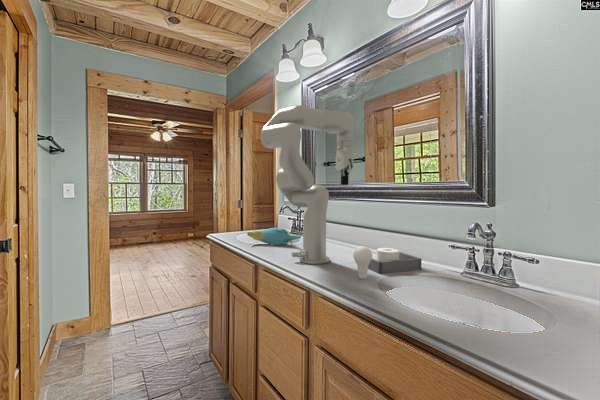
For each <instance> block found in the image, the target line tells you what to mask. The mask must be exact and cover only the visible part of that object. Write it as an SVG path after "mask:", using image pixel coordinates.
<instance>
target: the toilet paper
mask: <svg viewBox="0 0 600 400" xmlns="http://www.w3.org/2000/svg"><path fill="white" fill-rule="evenodd" d="M399 252H400V250H399V249H396V248H391V247H379V248H377V249H376V260H378V261H380V262H381V261H392V260H399Z"/></svg>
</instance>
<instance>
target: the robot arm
mask: <svg viewBox="0 0 600 400" xmlns="http://www.w3.org/2000/svg"><path fill="white" fill-rule="evenodd" d="M355 122H356V121H355V118H354V116H353V115H352V114H351V113H349V112H346V111H342V110H330V109H329V110H328V109H318V108H314V107H310V106H305V105H302V104H301V105H300V104H298V105H297V104H296V105H291V106H289V107H284V108H281V109H279V110H278V111H277V112H276V113H275V114H274V115H273V116H272V117H271V118H270V120H269V121H268V122H267V123H266V124H265V125H264V126H263V128H262V129H261V131H260V135H259V138H260V139H259V140H260V143H261V145H262V146H263V147H265V148H267V149H269V150H270V149H280V152H279V153H280V154H279V159H278V160H279V161H278V162H279V163H278V164H279V166H280V169H279V170H278V172H277V173H276V176H275V180H276V181H275V182H276V185H277V187H278V189H279V191H280V192H281V193H282V195H283V196H284V197H285V198H286V199H287V200H288V202H289V203H290V204H291V205H292V206H293V207H297V208H307V209H306V210H305V213H304V215H303V218H302V219H303V220H302V223H303V225H302V226H303V230H302V231H303V233H302V236H303V239H302V240H303V241H302V244H303V247H302V248H301V249H300V251H293V252H292V253H291V256H292V258H297V259H298V258H299V262H301V263H303V264H309V265H323V264H327V263H329V262H330V257H329V256H327V209H328V204H329V198H330V197H329V196H330V194H329V193H330V192H329V190H328V189H327V188H326V186H323V185H320V184H315V176H314V175H313V173H312V171H311V170H310V168H309V167H308V165H307V164H306V162H305V161H304V160H303V158H302V156H301V152H300V150H301V148H300V147H301V141H302V140H301V139H302V131H301V129H303V130H307V131H308V130H309V131H314V132H315V131H316V132H318V131H319V132H320V131H321V132H323V131H325V132H326V133H327V134H329V135H330V134H331V135H334V134H335V135H336V154H335V170H337V171H338V173H339V174H340V185H341V186H348V185H349V177H350V173H351V172H352V170H353V168H354V127H355V124H356V123H355Z"/></svg>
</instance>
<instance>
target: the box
mask: <svg viewBox="0 0 600 400" xmlns="http://www.w3.org/2000/svg"><path fill="white" fill-rule="evenodd" d="M368 269H369V270H370V271H372V272H375V273H377V274H379V275H380V274H381V275H382V274H390V273H399V272H409V271H410V272H411V271H417V270H422V258H421V257H417V256H414V255H410V254H408V253H404V252H401V251H399V260H392V261H381V262H380V261H378V260H377V259H376V258H373V257H372V259H371V261H370V263H369V265H368Z"/></svg>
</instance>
